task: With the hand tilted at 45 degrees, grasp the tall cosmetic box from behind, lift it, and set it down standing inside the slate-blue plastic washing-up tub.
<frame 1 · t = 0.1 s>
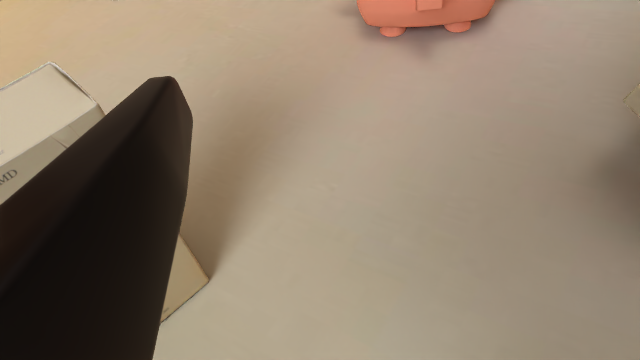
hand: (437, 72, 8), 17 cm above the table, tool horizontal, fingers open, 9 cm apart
cosmetic box: (144, 295, 26), on the table
teapot: (429, 6, 39), on the table
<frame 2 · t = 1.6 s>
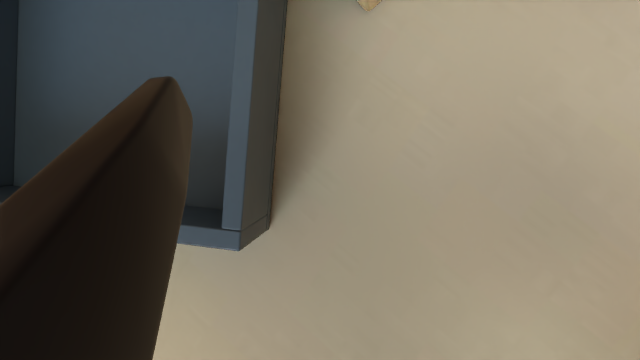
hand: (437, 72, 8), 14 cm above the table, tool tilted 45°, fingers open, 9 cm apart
tub: (141, 72, 23), on the table
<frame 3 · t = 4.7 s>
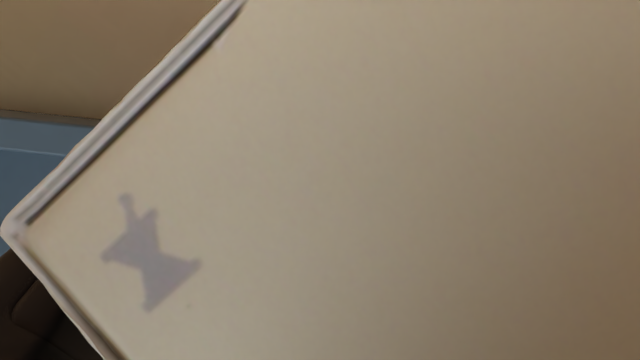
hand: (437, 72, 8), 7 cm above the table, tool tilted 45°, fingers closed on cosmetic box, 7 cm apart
cosmetic box: (415, 144, 15), on the table, touching gripper
tub: (67, 315, 17), on the table
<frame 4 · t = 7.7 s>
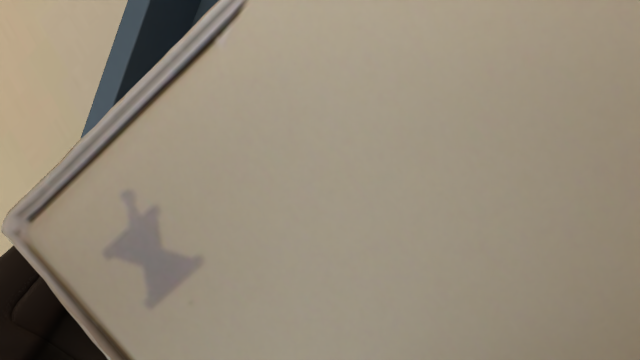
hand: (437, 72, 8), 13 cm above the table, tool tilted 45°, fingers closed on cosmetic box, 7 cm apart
cosmetic box: (415, 143, 15), point 6 cm above the table, touching gripper
tub: (284, 165, 22), on the table
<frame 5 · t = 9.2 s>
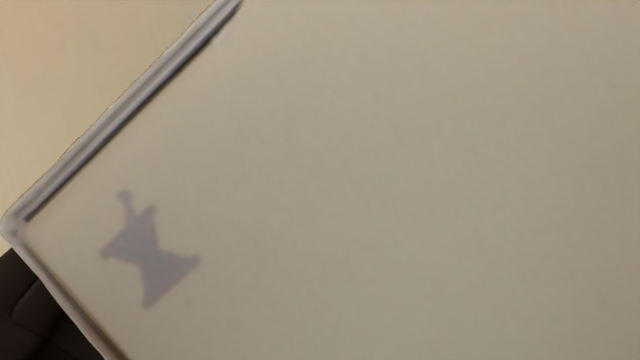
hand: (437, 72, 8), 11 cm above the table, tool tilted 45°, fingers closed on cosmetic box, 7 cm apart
cosmetic box: (415, 143, 15), point 4 cm above the table, touching gripper
when the fingers open (7 cm above the table, at t = 10.8 s): cosmetic box stays where it is, resting on tub.
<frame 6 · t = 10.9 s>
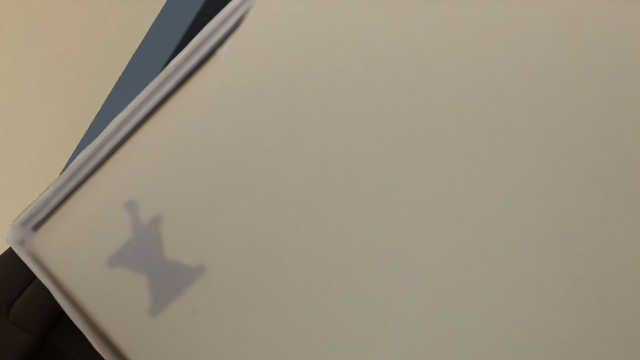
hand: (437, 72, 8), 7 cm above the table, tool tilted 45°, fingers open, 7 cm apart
cosmetic box: (417, 146, 15), resting on tub
tub: (414, 140, 15), on the table
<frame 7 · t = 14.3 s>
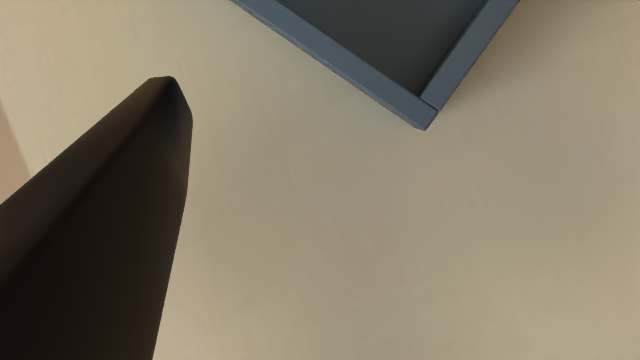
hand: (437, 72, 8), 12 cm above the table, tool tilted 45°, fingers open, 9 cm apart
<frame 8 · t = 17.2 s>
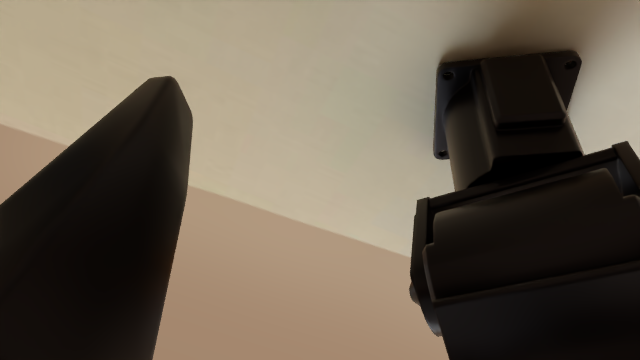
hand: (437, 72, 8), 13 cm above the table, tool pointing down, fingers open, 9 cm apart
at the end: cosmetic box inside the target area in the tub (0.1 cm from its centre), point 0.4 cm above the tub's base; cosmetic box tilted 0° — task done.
